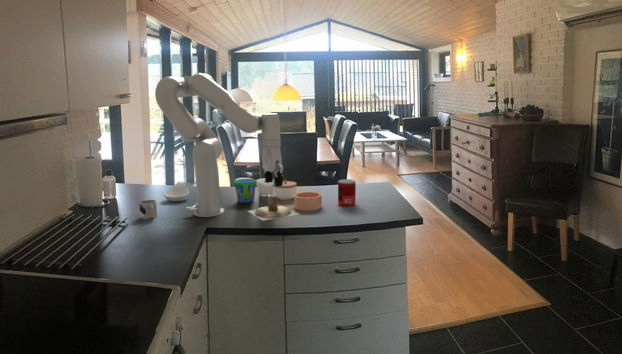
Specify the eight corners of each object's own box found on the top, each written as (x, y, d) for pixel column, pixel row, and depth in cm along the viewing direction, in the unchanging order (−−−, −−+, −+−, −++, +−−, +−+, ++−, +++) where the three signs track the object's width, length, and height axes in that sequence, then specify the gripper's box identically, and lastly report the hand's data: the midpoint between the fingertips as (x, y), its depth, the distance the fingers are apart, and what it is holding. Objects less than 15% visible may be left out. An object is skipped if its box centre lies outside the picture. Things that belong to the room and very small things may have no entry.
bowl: (302, 213, 184) (302, 199, 183) (289, 207, 195) (289, 193, 193) (326, 209, 190) (326, 195, 189) (313, 203, 200) (312, 190, 199)
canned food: (358, 204, 198) (359, 180, 196) (347, 207, 192) (348, 183, 190) (345, 201, 203) (345, 178, 201) (334, 204, 197) (334, 181, 195)
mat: (262, 221, 173) (262, 220, 173) (246, 212, 187) (246, 210, 187) (300, 215, 181) (300, 214, 181) (282, 206, 196) (282, 205, 195)
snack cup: (236, 198, 213) (235, 177, 211) (258, 197, 213) (257, 177, 211) (232, 206, 197) (231, 184, 196) (256, 205, 198) (255, 183, 196)
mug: (138, 216, 182) (137, 201, 181) (154, 214, 186) (153, 199, 185) (145, 222, 175) (144, 206, 173) (162, 219, 179) (161, 203, 177)
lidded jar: (298, 196, 214) (297, 178, 212) (295, 202, 203) (294, 182, 201) (276, 196, 215) (276, 178, 213) (272, 201, 204) (272, 182, 202)
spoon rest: (187, 203, 205) (186, 188, 203) (161, 204, 204) (160, 189, 202) (196, 192, 228) (195, 178, 226) (173, 193, 227) (172, 179, 226)
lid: (264, 219, 174) (263, 202, 173) (249, 211, 187) (249, 195, 185) (297, 214, 181) (296, 197, 180) (281, 206, 194) (280, 191, 193)
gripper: (254, 142, 184) (257, 182, 187) (272, 146, 169) (274, 188, 172) (271, 141, 188) (273, 179, 191) (289, 144, 173) (291, 186, 176)
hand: (273, 184), depth 182 cm, fingers open, 9 cm apart
